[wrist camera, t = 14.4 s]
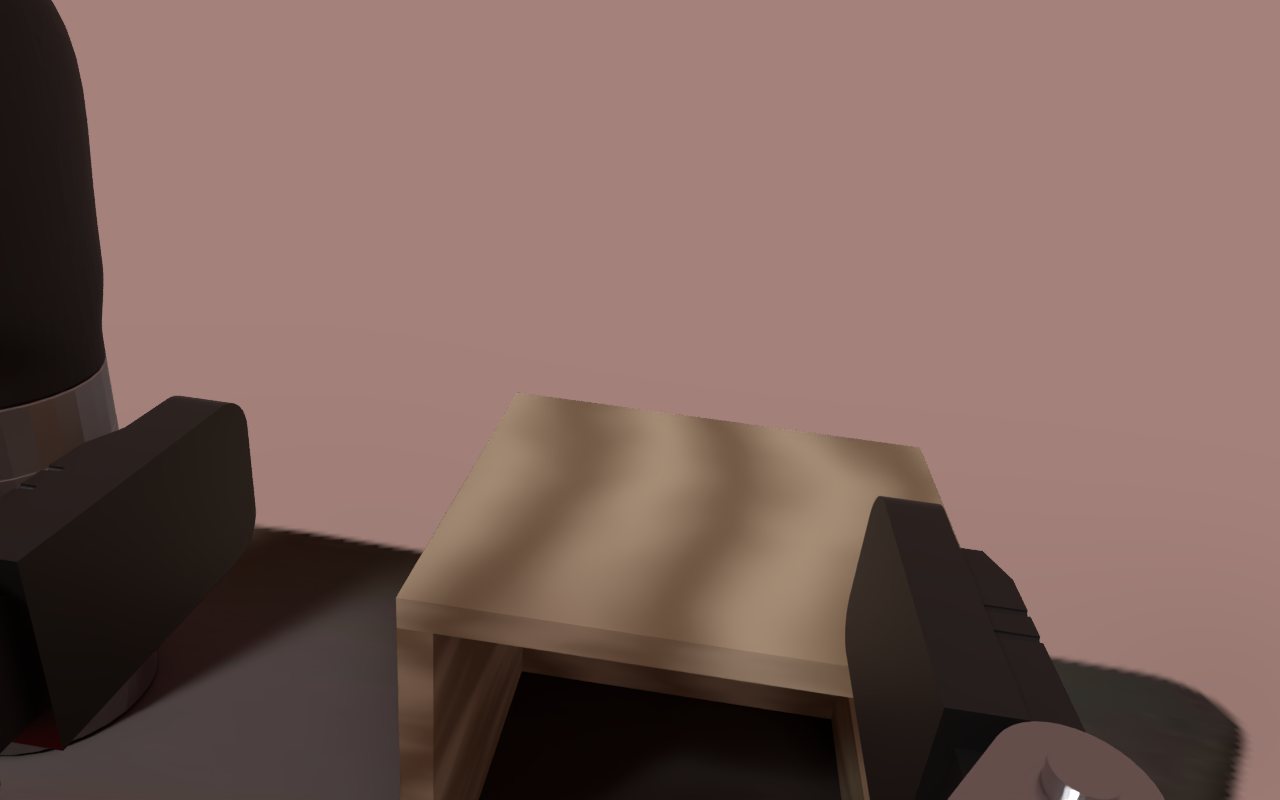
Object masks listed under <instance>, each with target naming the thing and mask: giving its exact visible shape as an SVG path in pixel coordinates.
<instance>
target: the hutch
mask: <svg viewBox="0 0 1280 800" xmlns="http://www.w3.org/2000/svg"><path fill="white" fill-rule="evenodd" d="M878 496H885V497H893V498H900V499H907V500H914V501H921V502H928V503H935V504H940V505H942V506H943V507H944V505H943V503H942V501H941V498H940V495H939V493H938V491H937V488H936V486H935V483H934V481H933V478H932V476H931V474H930V471H929V469H928V466H927V464H926V461H925V459H924V456H923V454H922V452H921V449H920V448H918V447H911V446H904V445H896V444H889V443H882V442H874V441H867V440H860V439H853V438H845V437H838V436H831V435H823V434H816V433H809V432H801V431H794V430H786V429H779V428H772V427H765V426H758V425H749V424H743V423H736V422H729V421H721V420H713V419H707V418H699V417H692V416H684V415H677V414H670V413H662V412H655V411H648V410H641V409H633V408H626V407H619V406H612V405H604V404H597V403H590V402H583V401H575V400H567V399H561V398H553V397H545V396H539V395H531V394H524V393H517V394H516V396H515V397H514V399H513V401H512V403H511V404H510V406H509V407H508V409H507V411H506V413H505V414H504V416H503V418H502V419H501V421H500V423H499V425H498V426H497V428H496V430H495V431H494V433H493V435H492V436H491V438H490V440H489V441H488V443H487V445H486V447H485V448H484V450H483V452H482V453H481V455H480V457H479V458H478V460H477V462H476V463H475V465H474V467H473V468H472V470H471V472H470V474H469V475H468V477H467V478H466V480H465V482H464V484H463V485H462V487H461V489H460V490H459V492H458V494H457V495H456V497H455V499H454V500H453V502H452V504H451V506H450V508H449V509H448V511H447V512H446V514H445V516H444V517H443V519H442V521H441V522H440V524H439V526H438V528H437V529H436V531H435V533H434V534H433V536H432V538H431V539H430V541H429V543H428V545H427V546H426V548H425V550H424V551H423V553H422V555H421V556H420V558H419V560H418V561H417V563H416V565H415V566H414V568H413V570H412V571H411V573H410V575H409V577H408V578H407V580H406V582H405V583H404V585H403V587H402V588H401V590H400V592H399V593H398V595H397V597H396V618H397V662H398V706H399V750H400V794H401V800H479V798H480V795H481V792H482V789H483V786H484V783H485V780H486V777H487V774H488V771H489V768H490V765H491V762H492V759H493V756H494V753H495V750H496V747H497V744H498V741H499V738H500V735H501V732H502V729H503V726H504V723H505V720H506V717H507V714H508V711H509V708H510V705H511V702H512V699H513V696H514V693H515V690H516V687H517V684H518V681H519V678H520V675H521V672H522V671H523V672H530V673H536V674H543V675H549V676H555V677H562V678H568V679H575V680H581V681H588V682H594V683H600V684H607V685H613V686H620V687H626V688H633V689H639V690H645V691H652V692H658V693H665V694H671V695H678V696H684V697H691V698H697V699H703V700H710V701H716V702H723V703H729V704H736V705H742V706H748V707H755V708H761V709H768V710H774V711H781V712H787V713H793V714H800V715H806V716H813V717H819V718H826V719H831V721H832V729H833V737H834V745H835V753H836V761H837V769H838V777H839V785H840V793H841V800H870V798H869V792H868V786H867V779H866V773H865V767H864V761H863V755H862V748H861V742H860V736H859V730H858V724H857V718H856V711H855V705H854V699H853V693H852V687H851V681H850V674H849V668H848V662H847V656H846V649H845V623H846V613H847V606H848V601H849V596H850V592H851V588H852V584H853V580H854V576H855V572H856V568H857V564H858V560H859V556H860V552H861V548H862V544H863V540H864V536H865V532H866V528H867V524H868V520H869V516H870V512H871V509H872V506H873V504H874V501H875V500H876V498H877V497H878ZM944 509H945V508H944ZM945 512H946V510H945ZM946 514H947V513H946ZM947 517H948V515H947ZM948 519H949V517H948ZM949 521H950V520H949ZM950 524H951V522H950ZM951 526H952V525H951ZM952 529H953V527H952ZM953 531H954V530H953ZM954 534H955V532H954ZM955 536H956V535H955ZM956 539H957V537H956ZM957 541H958V540H957ZM958 544H959V542H958ZM959 546H960V544H959ZM960 548H961V547H960Z"/></svg>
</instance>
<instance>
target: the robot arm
mask: <svg viewBox="0 0 1280 800" xmlns="http://www.w3.org/2000/svg"><path fill="white" fill-rule="evenodd" d="M87 125H88V124H87V117H86V109H85V101H84V93H83V87H82V82H81V78H80V73H79V69H78V64H77V59H76V56H75V52H74V50H73V47H72V44H71V41H70V38H69V35H68V32H67V29H66V27H65V25H64V23H63V21H62V19H61V17H60V15H59V13H58V11H57V9H56V7H55V6H54V4H53V2H52V1H51V0H0V755H17V754H24V753H31V752H38V751H41V750H45V749H55V750H61V751H63V750H64V749H65V748H66V747H67V746H68V745H69V744H70V743H71V742H72V741H73V740H76V739H78V738H81V737H84V736H86V735H88V734H90V733H92V732H94V731H95V730H97V729H99V728H101V727H103V726H105V725H107V724H108V723H110V722H111V721H113V720H114V719H115V718H117V717H118V716H120V715H121V714H123V713H124V712H125V711H127V710H128V709H129V708H130V707H131V706H132V705H133V704H134V703H135V702H136V701H137V700H138V699H139V698H140V697H141V696H142V695H143V693H144V692H145V691H146V689H147V688H148V686H149V685H150V684H151V682H152V680H153V677H154V675H155V672H156V670H157V658H158V657H157V651H156V649H157V648H158V647H159V646H160V645H161V644H162V643H163V642H164V641H165V640H166V638H167V637H168V636H169V635H170V634H171V633H172V632H173V631H174V630H175V629H176V628H177V627H178V625H179V624H180V623H181V622H182V621H183V620H184V619H185V618H186V617H187V616H188V615H189V613H190V612H191V611H192V610H193V609H194V608H195V607H196V606H197V605H198V604H199V603H200V602H201V600H202V599H203V598H204V597H205V596H206V595H207V594H208V593H209V592H210V591H211V590H212V588H213V587H214V586H215V585H216V584H217V583H218V582H219V581H220V580H221V579H222V578H223V577H224V575H225V574H226V573H227V572H228V571H229V570H230V569H231V568H232V567H233V566H234V565H235V563H236V562H237V561H238V560H239V559H240V558H241V557H242V555H243V554H244V552H245V551H246V549H247V547H248V545H249V542H250V540H251V537H252V534H253V530H254V525H255V517H256V508H255V497H254V487H253V479H252V468H251V458H250V448H249V438H248V430H247V429H248V428H247V421H246V417H245V414H244V413H243V410H242V409H241V408H240V407H239V406H238V405H236V404H234V403H227V402H220V401H213V400H205V399H199V398H191V397H184V396H173V397H170V398H168V399H167V400H166V401H164V402H162V403H161V404H159V405H158V406H156V407H155V408H153V409H152V410H150V411H149V412H147V413H146V414H144V415H143V416H141V417H140V418H139V419H137V420H135V421H134V422H133V423H131V424H129V425H128V426H126V427H125V428H122V429H120V430H119V428H118V422H117V416H116V412H115V406H114V400H113V394H112V389H111V383H110V377H109V372H108V366H107V359H106V353H105V347H104V341H103V334H102V305H103V265H102V257H101V249H100V241H99V233H98V226H97V217H96V208H95V198H94V190H93V179H92V168H91V157H90V146H89V135H88V126H87ZM1039 639H1040V636H1039V634H1038V632H1037V629H1036V627H1035V625H1034V623H1033V621H1032V619H1031V617H1027V609H1026V606H1025V605H1024V602H1023V600H1022V598H1021V596H1020V594H1019V592H1018V590H1017V588H1016V585H1015V583H1014V581H1013V580H1012V579H1011V578H1010V577H1009V576H1008V575H1007V574H1006V573H1005V572H1004V571H1003V570H1002V569H1001V568H1000V567H999V566H998V565H997V564H995V562H993V561H992V560H991V559H990V558H989V557H988V556H987V555H986V554H985V553H984V552H983V551H978V550H971V549H964V548H960V546H959V544H958V541H957V539H956V536H955V534H954V531H953V529H952V526H951V524H950V521H949V519H948V517H947V514H946V512H945V509H944V507H943V506H942V505H940V504H935V503H928V502H921V501H914V500H907V499H900V498H893V497H885V496H878V497H877V498H876V500H875V501H874V504H873V506H872V509H871V512H870V516H869V520H868V524H867V528H866V532H865V536H864V540H863V544H862V548H861V552H860V556H859V560H858V564H857V568H856V572H855V576H854V580H853V584H852V588H851V592H850V596H849V601H848V606H847V613H846V623H845V649H846V656H847V662H848V668H849V674H850V681H851V687H852V693H853V699H854V705H855V711H856V718H857V724H858V730H859V736H860V742H861V748H862V755H863V761H864V767H865V773H866V779H867V786H868V792H869V798H870V800H1164V798H1163V796H1162V794H1161V793H1160V791H1159V790H1158V788H1157V787H1156V785H1155V784H1154V783H1153V781H1152V780H1151V779H1150V778H1149V777H1148V776H1147V775H1146V774H1145V772H1144V771H1143V770H1142V769H1140V768H1139V767H1138V766H1137V765H1136V764H1135V763H1134V762H1133V761H1132V760H1130V759H1129V758H1128V757H1126V756H1125V755H1124V754H1122V753H1121V752H1120V751H1118V750H1117V749H1115V748H1114V747H1112V746H1110V745H1109V744H1107V743H1106V742H1104V741H1102V740H1100V739H1098V738H1096V737H1094V736H1092V735H1090V734H1088V733H1086V732H1085V730H1084V728H1083V726H1082V724H1081V722H1080V720H1079V717H1078V715H1077V713H1076V711H1075V709H1074V707H1073V705H1072V703H1071V701H1070V699H1069V696H1068V694H1067V692H1066V690H1065V688H1064V686H1063V684H1062V682H1061V680H1060V678H1059V675H1058V673H1057V671H1056V669H1055V667H1054V665H1053V663H1052V661H1051V659H1050V657H1049V655H1048V652H1047V650H1046V648H1045V646H1044V644H1043V643H1040V642H1039ZM0 785H1V783H0Z"/></svg>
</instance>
